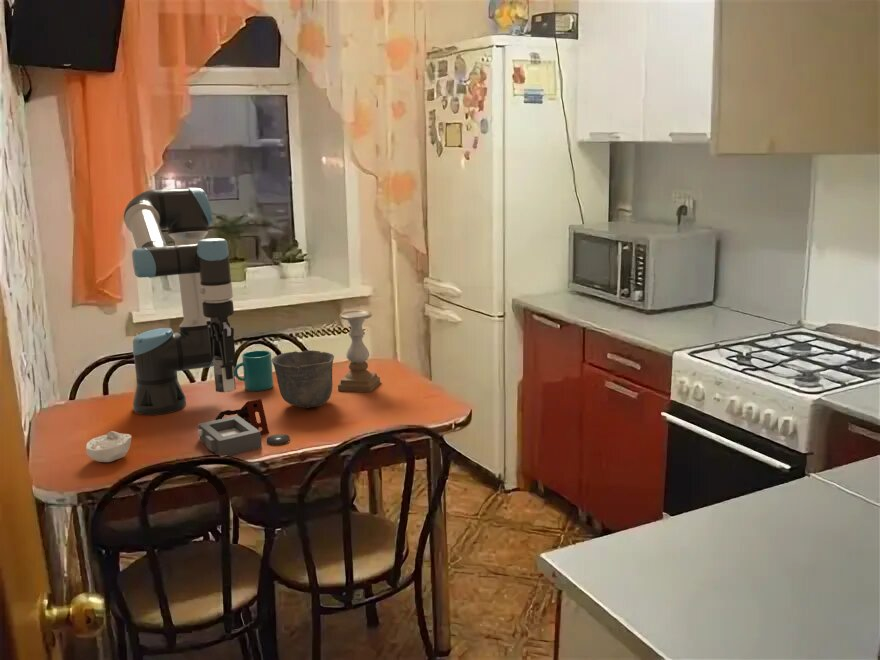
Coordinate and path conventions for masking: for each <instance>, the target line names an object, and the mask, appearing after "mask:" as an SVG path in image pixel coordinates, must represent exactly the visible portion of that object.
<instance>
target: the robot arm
mask: <svg viewBox="0 0 880 660" xmlns="http://www.w3.org/2000/svg"><path fill="white" fill-rule="evenodd" d="M123 220H124V223H125V226H126V228H127V230H128V231H130V232H131V234H132V237H133V240H134V244H135V247H136V248H134V249H133V250H132V251H131V252H132V253H131V257H132V266H133V271H134V275H135V277H137V278H140V279H141V278H149V279H151V278H159V277H167V276H175V275H177V276H178V280H179V281H178V282H179V289H180V298H181V299H180V300H181V307H182V316H183V319H182V322H181V323H180V324H179V331H176V332H174V331H173V329H172V328H170V327H163V328H162V327H159V328H154V329H153V328H152V329H150V330H147V331H144V332H141V333H140V334H137V335H136V336H134V338H133V339H132V355H133V360H134V367H135V377H136V378H135V379H136V387H135V393H134V397H133V402H132V407H133V409H132V410H133V411H134V412H135V413H136V414H139V415H149V416H152V415H154V416H155V415H165V414H170V413H173V412H176V411H180V410H181V409H183V408H184V407H186V406H187V400H186V395H185V392H184V391H183V388H182V386H181V384H180V382H179V380H178V379H179V378H178V372H182V371H188V370H196V369H203V368H204V369H205V368H207V369H209V368H211V367H214V365H213V358H214V356H216V355H219V354H221V357H222V363H223V366H220V367H221V368H222V377H223V388H224V392H223V393H229V392H228V391H230V392H233V391H235V390H236V389H235V386H236V383H235V384H234V373H233V366H234V367H235V366H237V360H236V359H237V358H236V348H235V347H236V346H235V337H234V336H235V328H234V327H233V326H232V327H231V324H230V322H229V319H228V317H229V316H233V315H234V313H235V311H234V300H233V299H232V298H233V297H234V293H233V285H232V279H231V277H232V276H231V265H230V250H229V244H228V241H227V239H225V238H220V237H216V238H215V237H214V238H213V237H212V238H205V237H206V236H207V235H208V234H209V228H211V227H212V226H213V224H214V220H213V212H212V207H211V203H210V200H209V198H208V195H207V193H206V192H205V190H204V189H202V188H199V187H183V188H182V187H180V188H166V189H165V188H164V189H149V190H146V191H142V192H141V193H139V194H137V195H136V196H134V197H133V198H132V199H131V200H130V201H129V202H128V203H127V205H126V207H125V208H124V212H123ZM163 230H167V234H168V236H169V238H171V239H173V242H174V245H167V242H166V240H165V236H164V234H163V232H162V231H163Z"/></svg>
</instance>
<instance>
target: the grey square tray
mask: <svg viewBox="0 0 880 660" xmlns="http://www.w3.org/2000/svg"><path fill="white" fill-rule="evenodd" d="M260 431H261V430H260V429H259V430H258V429H256V428H255V427H253V426H252V425H251V423H250V422H248V421H246V420H245V418H241V417H239V416H238V415H237V414H236V415H234V416H233V415H232V416H228V417H223V418H222V419H219V420H215V419H214V420H212V421H211V420H210V421H206V422H201V423H198V430H197V435H198V437H199V441H200V442H201V443H203V444H204V445H205V447H206V448H207V449H208V450H209V451H211V453H212V452H213V453H214V454H216V455H217V456H218V455H227V456H226V457H229V456H234V455H238V454H243V453H246V452H250V451H255V450H259V449H262V448H263V447H262V435H261V432H260Z"/></svg>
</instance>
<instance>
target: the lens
mask: <svg viewBox="0 0 880 660" xmlns="http://www.w3.org/2000/svg"><path fill="white" fill-rule="evenodd" d="M213 365H214V366H213V373H214V385H215V391H216V392H217V393H225V392H224V388H223V377H222V368H221V367H220V366H223V363H222V357H221V354H219V355H216V356H214V358H213ZM234 369H235V365H234V366H233V373H234ZM235 378H236V377H235V375H234V384H235V390H236V388H237V387H236V386H237V385H236V379H235ZM229 392H231V391H228V392H227V393H229Z"/></svg>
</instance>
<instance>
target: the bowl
mask: <svg viewBox="0 0 880 660" xmlns="http://www.w3.org/2000/svg"><path fill="white" fill-rule="evenodd" d="M334 358H335V355H334V354H333V353H330V352H325V351H320V350H308V349H307V350H303V351H296V350H295V351H290V352H289V351H288V352H284V353H280V354H278V355H275V356H273V357H271V359H272V366H273V367H274V371H275V375H276V379H277V381H276V382H277V384H278V389H279V390H278V391H279V392H280V396H281V397H282V399H283V401H285V402H286V403H287V404H289V405H292V406H295V407H298V408H305V409H306V408H316V407H319V406H322V405H324V404H325V403H327V402H328V401H329V400H330V398H331V395H332V392H333V362H334Z"/></svg>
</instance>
